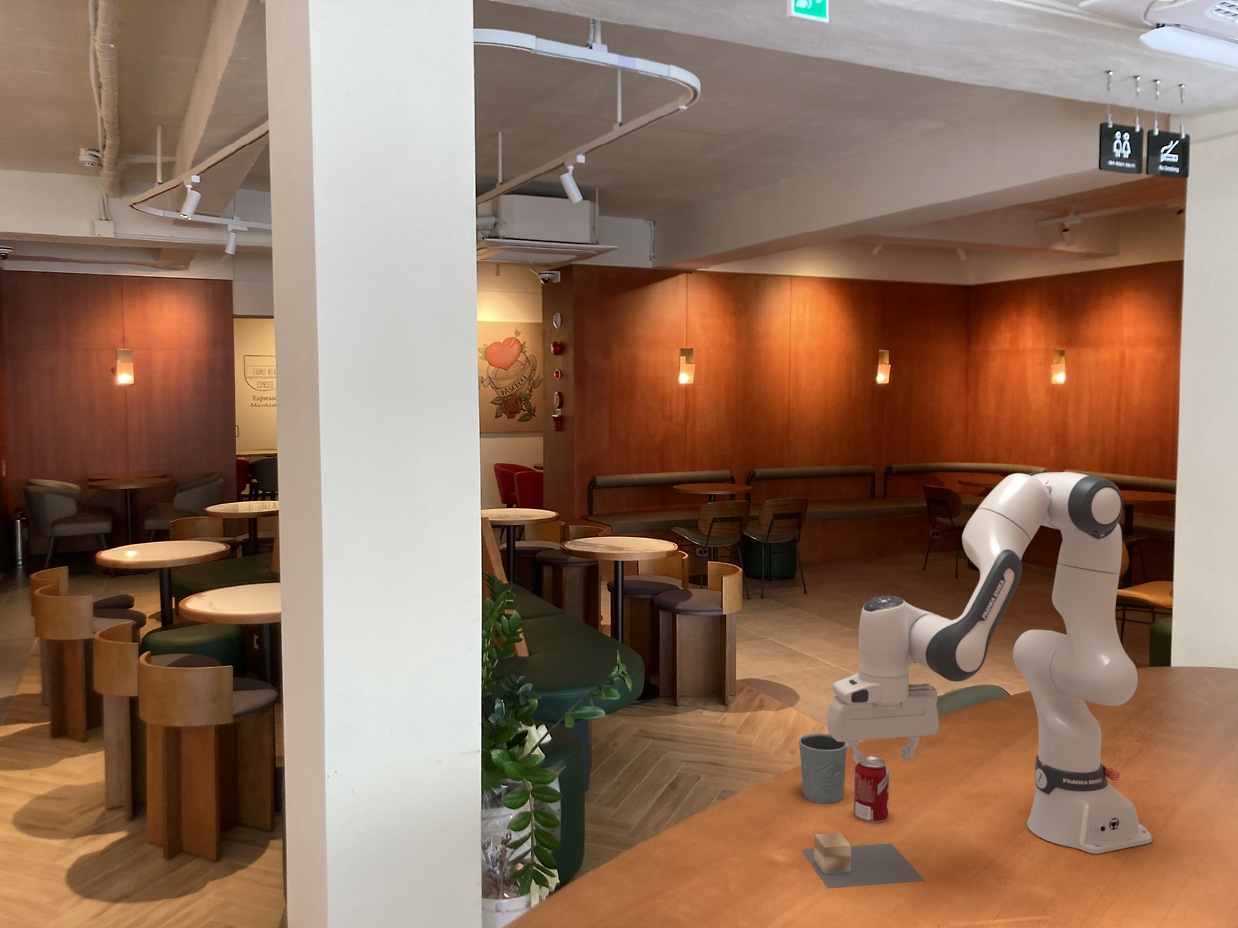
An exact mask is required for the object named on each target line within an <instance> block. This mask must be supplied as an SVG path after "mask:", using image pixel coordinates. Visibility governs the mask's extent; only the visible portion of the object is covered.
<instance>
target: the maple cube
mask: <svg viewBox="0 0 1238 928" xmlns="http://www.w3.org/2000/svg"><path fill="white" fill-rule="evenodd" d="M851 846H852V845H851V844H850V842H849V841H848V840H847V839H846V838H845V836H844V834H842V832H835V833H831V832H830V833H819V834H814V849H815V852H814V861H815V862H816V864H817V865H818V867H819V868H820V870H821V871H822V872H823V874H838V873H851Z"/></svg>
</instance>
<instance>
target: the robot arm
mask: <svg viewBox="0 0 1238 928" xmlns="http://www.w3.org/2000/svg"><path fill="white" fill-rule="evenodd" d="M1123 505H1124V503H1123V497H1122V493H1121V491H1120V489H1119V486H1117V484H1115V482H1113V481H1111V480H1109V479H1107V478H1105V477H1102V476H1098V475H1094V474H1092V475H1089V474H1083V473H1077V472H1073V471H1063V472H1060V471H1059V472H1056V471H1055V472H1053V471H1052V472H1051V471H1050V472H1047V471H1035V472H1034V471H1033V472H1031V473H1023V472H1022V473H1020V472H1017V473H1012V474H1009V475H1007V476H1006V477H1004V479H1002V480H1001V481H1000V482H999V483H998V484H997V485H996V486H995V487H994V488H993V489H992V490H991V491H990V492H989V494H987V496H986V497H985V498H984V499H983V500H982V502H981V503H980V504H979V505H978V507H977V508H976V510H975V511H974V513H973V514H972V516H971V517H969V520H968V521H967V523H966V524H965V527H964V529H963V532H962V535H961V542H962V546H963V550H964V552H965V554H966V556H967V558H968V559H969V560H970V561H971V562H972V564H974V566H976V567H977V569H978V570H979V581H978V583H977V585H976V587H975V589H974V591H973V592H972V595H971V597H970V599H969V601H968V603H967V605H966V606H965V608H964V610H963V612H962V614H960V616H959V617H957V618H955V619H949V618H946V617H943V616H941V615H939V614H936V613H933V612H930V611H927V610H924V609H921V608H918V607H916V606H913V605H912V604H909V603H908V602H906V601H905V599H903V598H902V597H900V596H895V595H883V596H881V595H880V596H876V597H874V598H871V599H869V600H868V601H866V602H865V603H864V605H862V606H863V607H862V608H861V612H860V617H859V622H858V623H859V624H858V625H859V627H858V650H859V652H860V660H859V664H858V672H857V673H854V674H853V675H850V676H847V677H845V678H842V679H839V680H838V681H835V682H834V683H833V685H832V692H833V694H835V696H834V697H833V698H831V700H830V703H829V707H828V713H827V714H828V715H827V731H828V733H829V734H830V735H831V736H832V737H833V738H834V739H835V740H836V741H838V742H843V741H846V742H847V745H848V746H849V748H850V749H851V750H852V759H853V762H854V763H855V764H858V763H864V756H865V753H864V752H863V751H862V750H859V749H858V747H857V746H859V745H860V743H859V742H860V741H867V740H881V739H883V740H884V739H892V738H894V739H896V738H907V739H908V742H907V743H906V745H905V746H902V747H901V751H902V752H901V757H902V758H903V759H904V760H913V759H914V751H915V749H916V748H917V746H918V745H919V743H920V741H921V739H920V737H922V736H933V735H936V734H937V732H938V730H939V728H940V727H939V726H940V724H939V723H940V721H939V714H938V706H937V703H938V690H937V689H936V688H935V686H933V685H931V684H930V683H921V684H920V683H919V684H918V683H912V684H910V673H909V672H910V665H912V664H918V665H920V666H922V667H924V668H926V669H928V670H930V671H933V672H934V673H935V674H936V675H939V676H940V677H942V678H944V679H946V680H947V681H950V682H955V683H956V682H957V683H958V682H963V681H966V680H969V679H971V678H972V677H973V676H974V675H976V674H977V673H978V672H979V671H980V670H981V668H982V667H983V666H984V664H985V661H986V657H987V655H988V650H989V647H990V644H991V640H992V638H993V636H994V633H995V631H996V629H997V627H998V625H999V624H1000V621H1001V620H1002V617H1003V616H1004V614H1005V611H1006V610H1007V608H1008V606H1009V603H1010V601H1011V599H1012V598H1013V596H1014V593H1015V592H1016V589H1017V587H1018V585H1019V583H1020V581H1021V580H1020V579H1021V577H1022V574H1023V562H1022V559H1023V555H1024V554H1025V551H1026V549H1027V547H1028V546H1029V544H1030V542H1031V541H1032V540H1033V538H1034V537H1035V535H1036V533H1038V530H1039V529H1040V527H1041V526H1044V527H1048V528H1051V529H1055V530H1059V531H1060V533H1061V539H1062V541H1061V545H1060V549H1059V553H1058V558H1057V563H1056V569H1055V576H1054V581H1053V582H1054V583H1053V588H1052V592H1051V593H1052V595H1051V601H1052V604H1053V607H1054V608H1055V610H1056V611H1057V612H1058V613H1059V614H1060V616H1061V618H1062V619H1063V622H1064V625H1065V631H1066V634H1064V633H1063V632H1062V633H1061V632H1058V631H1055V630H1048V629H1047V630H1046V629H1029V630H1027V631H1025V632H1023V633H1021V635H1020V636H1019V637H1018V638H1017V640H1016V641H1015V643H1014V646H1013V650H1012V658H1013V662H1014V666H1015V667H1016V669H1017V670H1018V671H1019V673H1021V675H1022V677H1023V678H1024V680H1025V682H1026V684H1027V686H1028V688H1029V691H1030V694H1031V696H1032V699H1033V702H1034V705H1035V709H1036V714H1037V721H1038V722H1037V723H1038V748H1037V749H1038V754H1037V755H1036V757H1035V767H1034V780H1035V790H1034V798H1033V802H1032V806H1031V811H1030V813H1029V816H1028V819H1027V821H1026V825H1027V828H1028V829H1029V830H1030V832H1032V833H1033V834H1034V835H1036V836H1037V837H1039V838H1041V839H1043V840H1045V841H1048V842H1051V843H1054V844H1057V845H1059V846H1060V845H1061V846H1064V847H1070V848H1074V849H1079V850H1081V851H1084V852H1085V853H1086V852H1087V853H1090V854H1094V855H1098V854H1102V853H1103V854H1104V853H1107V852H1112V851H1117V850H1122V849H1123V850H1124V849H1126V848H1131V847H1137V846H1142V845H1147V844H1150V843H1152V842H1153V840H1152V834H1151V833H1150V832H1149V830H1148V829H1147V828H1146V827H1145V826H1143V825H1142V824H1141V823H1140V822H1139V816H1138V811H1137V809H1136V806H1135V805H1134V803H1132V801H1130V800H1129V798H1127V797H1126V796H1125V795H1123V793H1121V792H1120V791H1119V790H1117V789H1116V788H1115V787H1113V786H1112V785H1111V784H1110V783H1109V782H1108V779H1110V780H1111V781H1113V782H1117V781H1118V780H1119V779H1120V777H1121V774H1120V772H1119V771H1117V770H1115V769H1114V768H1112V767H1108V768H1107V767H1106V766H1105V765H1104V764H1103V763H1101V751H1102V750H1101V748H1102V729H1101V725H1100V723H1099V722H1098V720H1097V718H1096V717H1095V716H1094V715H1093V714H1092V713H1091V711H1090V709H1089V708H1088V706H1087V704H1086V702H1088V703H1092V704H1097V705H1103V706H1114V707H1116V706H1120V705H1123V704H1125V703H1126V702H1128V701H1129V700H1130V699H1131V698H1132V697H1133V695H1134V694H1135V692H1136V691H1137V687H1138V683H1139V676H1138V670H1137V667H1136V664H1134V662H1133V661H1132V659H1130V657H1129V655H1128V654H1127V652H1126V650H1125V649H1124V647H1123V644H1122V642H1121V639H1120V635H1119V633H1118V628H1117V623H1116V622H1117V621H1116V604H1117V595H1118V588H1119V581H1120V575H1121V566H1122V556H1123V536H1122V528H1121V525H1120V524H1119V522H1120V520H1121V516H1122V513H1123ZM1085 701H1086V702H1085ZM1107 778H1108V779H1107Z"/></svg>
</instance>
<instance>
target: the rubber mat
mask: <svg viewBox="0 0 1238 928" xmlns="http://www.w3.org/2000/svg"><path fill="white" fill-rule="evenodd" d="M800 850H801V852H802V854H803V855H804V856H805V858H806V859H807V861H808V862H809V864H810V865H811V867H812V868H813V870H814V871H815V872H816V874H817V875H818V876H819V878H820V879H821V881H822V882H823V884H824V885H825V887H826V889H833V888H835V889H837V888H848V887H849V888H850V887H862V886H875V885H877V886H878V885H886V884H887V885H889V884H901V883H902V884H903V883H914V882H915V883H916V882H925V881H926V880H925V879H924V877H922V876H921V874H920V873H919V872H918V871H917V870H916V869H915V868H914V867H913V866H912V864H910V862H909V861H908V860H907V859H906V858H905V857H904V856H903V855H902V853H901V852H900V851H899V850H898V849H897V848H896V847H895V846H894V845H893V844H892V843H891V842H890V843H878V844H874V843H873V844H865V845H864V844H861V845H851V873H838V874H823V872H822V871H821V870H820V868H819V867H818V865H817V864H816V862H815V861H814V852H815V848H806V849H805V848H804V849H800Z"/></svg>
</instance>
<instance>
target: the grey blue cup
mask: <svg viewBox="0 0 1238 928" xmlns="http://www.w3.org/2000/svg"><path fill="white" fill-rule="evenodd" d="M798 745H799V755H800V770H801V780H802V783H801V784H802V785H801V786H802V794H803V796H804V798H805V799H806V800H809V801H810V802H813V803H817V804H821V805H822V804H824V805H828V804H829V805H830V804H837V803H840V802H841V801H843V799H844V793H845V779H846V766H847V765H846V760H847V751H848V743H847V741H843V742H838V741H836V740H835V739H834V738H833V737H832V736H831V735H830V734H828V733H808V734H805V735H803V736H801V737H800V738H799V740H798Z"/></svg>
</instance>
